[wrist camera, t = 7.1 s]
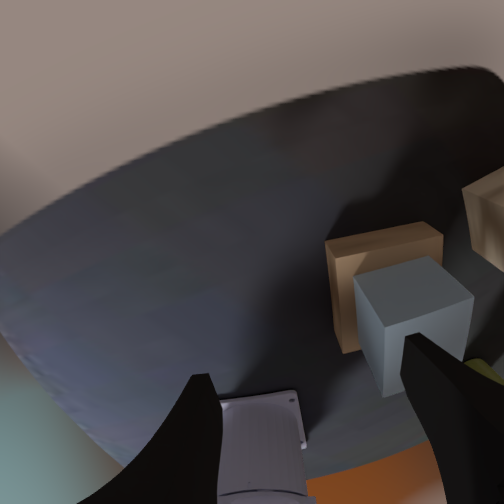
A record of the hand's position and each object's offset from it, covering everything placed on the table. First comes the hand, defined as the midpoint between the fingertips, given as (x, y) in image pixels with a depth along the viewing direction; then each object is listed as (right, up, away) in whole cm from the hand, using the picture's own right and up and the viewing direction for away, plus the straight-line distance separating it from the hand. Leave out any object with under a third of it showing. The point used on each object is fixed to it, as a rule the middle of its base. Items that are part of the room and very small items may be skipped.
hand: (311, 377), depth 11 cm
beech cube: (+16, +8, +8) cm, 19 cm away
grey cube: (+7, +1, +7) cm, 10 cm away
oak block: (+6, +3, +10) cm, 12 cm away
